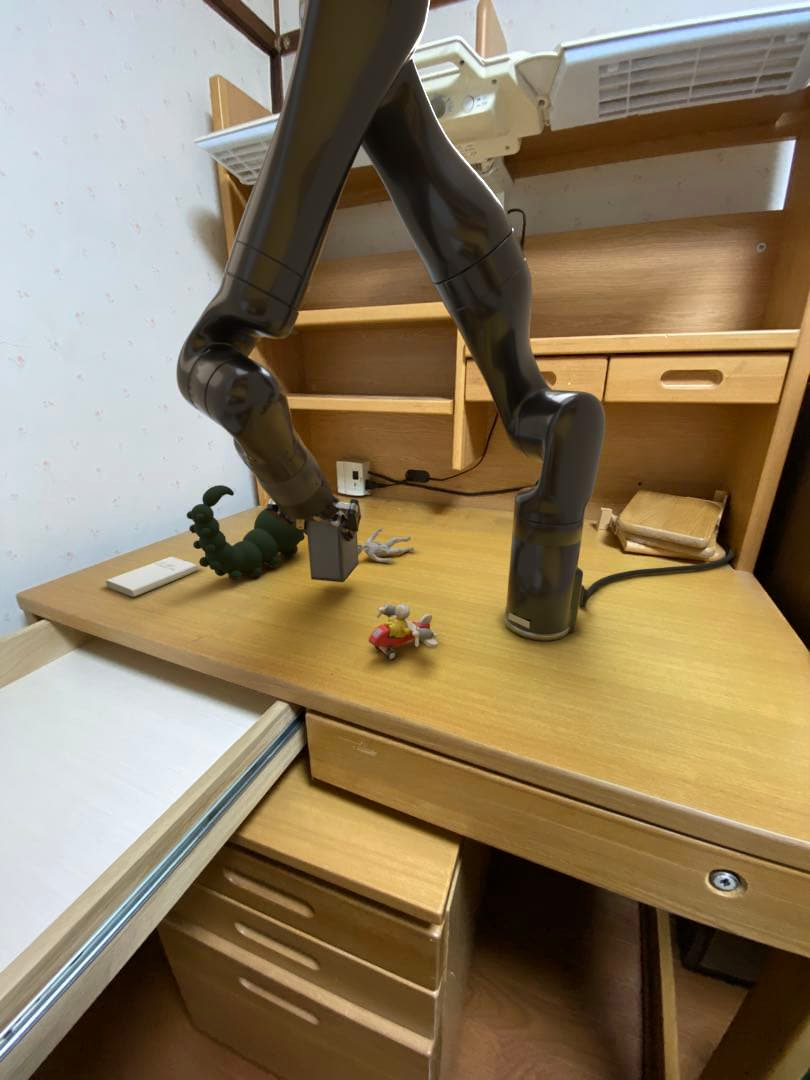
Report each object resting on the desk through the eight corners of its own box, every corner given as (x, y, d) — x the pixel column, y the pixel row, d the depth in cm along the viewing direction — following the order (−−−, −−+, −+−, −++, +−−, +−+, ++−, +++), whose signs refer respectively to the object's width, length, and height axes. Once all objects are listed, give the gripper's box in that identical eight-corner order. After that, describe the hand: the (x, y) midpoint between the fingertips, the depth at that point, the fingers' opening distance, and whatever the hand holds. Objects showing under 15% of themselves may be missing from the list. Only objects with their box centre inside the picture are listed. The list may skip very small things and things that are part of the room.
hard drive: (107, 587, 81) (171, 562, 91) (134, 598, 77) (198, 571, 87) (105, 579, 81) (169, 555, 91) (132, 590, 77) (196, 563, 87)
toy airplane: (367, 661, 60) (365, 619, 58) (381, 625, 69) (380, 586, 66) (436, 667, 59) (437, 624, 57) (442, 630, 67) (443, 590, 65)
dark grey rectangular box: (324, 501, 78) (305, 514, 71) (355, 503, 76) (339, 517, 70) (328, 561, 82) (311, 579, 75) (358, 564, 80) (343, 582, 73)
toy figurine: (231, 605, 78) (327, 546, 97) (204, 500, 70) (315, 458, 89) (197, 591, 83) (295, 538, 102) (168, 492, 75) (280, 454, 94)
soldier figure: (418, 561, 93) (371, 558, 85) (404, 571, 96) (357, 569, 89) (409, 528, 96) (362, 522, 89) (395, 538, 99) (349, 533, 92)
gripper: (234, 501, 60) (285, 552, 75) (339, 507, 57) (370, 559, 72) (251, 453, 63) (296, 511, 78) (351, 456, 60) (378, 517, 75)
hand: (332, 534), depth 75 cm, fingers closed on dark grey rectangular box, 5 cm apart
